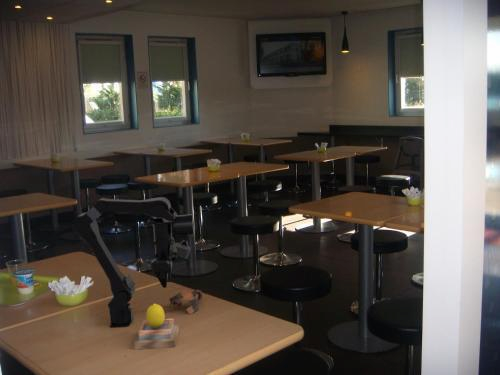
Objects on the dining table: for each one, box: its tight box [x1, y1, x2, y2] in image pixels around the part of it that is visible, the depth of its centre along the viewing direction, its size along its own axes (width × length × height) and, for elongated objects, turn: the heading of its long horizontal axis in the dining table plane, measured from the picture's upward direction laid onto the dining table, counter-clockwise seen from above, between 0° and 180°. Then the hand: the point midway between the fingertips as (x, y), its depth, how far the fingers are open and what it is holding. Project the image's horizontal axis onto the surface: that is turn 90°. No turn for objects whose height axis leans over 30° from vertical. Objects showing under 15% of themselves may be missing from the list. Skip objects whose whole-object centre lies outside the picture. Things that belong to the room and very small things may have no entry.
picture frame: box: [133, 318, 180, 350], centre depth 174 cm, size 12×12×5 cm
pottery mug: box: [168, 288, 204, 315], centre depth 199 cm, size 12×10×8 cm
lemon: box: [145, 303, 166, 329], centre depth 173 cm, size 6×6×8 cm
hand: (166, 283), depth 187 cm, fingers open, 9 cm apart
